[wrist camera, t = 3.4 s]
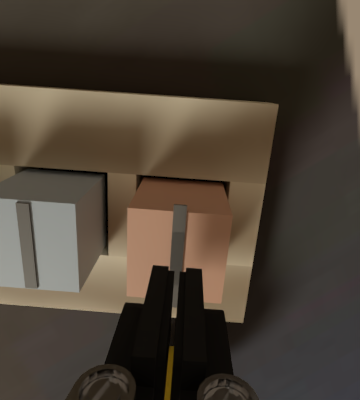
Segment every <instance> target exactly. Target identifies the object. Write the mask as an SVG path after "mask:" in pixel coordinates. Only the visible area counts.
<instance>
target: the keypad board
mask: <svg viewBox="0 0 360 400" xmlns="http://www.w3.org/2000/svg"><path fill="white" fill-rule="evenodd" d="M278 106H279V104H273V103H268V102H257V101H242V100H228V99H214V98H200V97H185V96H171V95H157V94H142V93H128V92H114V91H99V90H85V89H71V88H57V87H42V86H28V85H14V84H0V182H1V181H3V180H5V179H7V178H10V177H12V176H14V175H16V174H18V173H20V172H22V171H24V170H26V169H39V168H53V169H66V170H80V171H94V172H107V173H108V234H106V246H105V247H104V249H103V251H102V253H101V255H100V256H99V258H98V260H97V262H96V264H95V265H94V267H93V269H92V271H91V273H90V274H89V276H88V278H87V280H86V282H85V283H84V285H83V287H82V289H81V291H80V293H78V292H65V291H52V290H40V289H27V288H14V287H1V286H0V304H9V305H22V306H35V307H47V308H60V309H72V310H85V311H98V312H110V313H121V312H122V309H123V306H124V304H125V303H126V302H129V303H142V304H144V301H145V298H142V297H129V296H127V208H128V206H129V204H130V202H131V201H132V199H133V197H134V195H135V193H136V191H137V189H138V188H139V186H140V184H141V182H142V180H143V175H148V176H162V177H176V178H189V179H203V180H216V181H224V189H225V193H226V196H227V199H228V202H229V205H230V208H231V211H232V215H233V219H232V226H231V234H230V241H229V249H228V257H227V264H226V272H225V280H224V287H223V295H222V302H221V304H218V303H205V302H204V309H216V310H223V311H224V314H225V320H226V322H236V323H243V320H244V314H245V308H246V302H247V296H248V290H249V284H250V277H251V271H252V265H253V259H254V253H255V247H256V241H257V235H258V228H259V222H260V216H261V210H262V204H263V198H264V192H265V186H266V179H267V173H268V167H269V161H270V155H271V149H272V143H273V137H274V130H275V124H276V118H277V112H278ZM176 314H177V308H174V307H172V317H173V318H176Z"/></svg>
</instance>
